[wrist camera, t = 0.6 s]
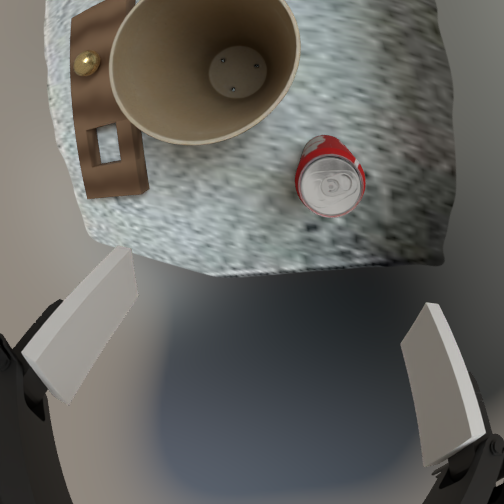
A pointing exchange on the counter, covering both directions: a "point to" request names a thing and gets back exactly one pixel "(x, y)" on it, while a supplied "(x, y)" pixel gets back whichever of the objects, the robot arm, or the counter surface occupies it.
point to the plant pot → (203, 66)
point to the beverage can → (329, 177)
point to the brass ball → (86, 63)
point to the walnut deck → (103, 107)
